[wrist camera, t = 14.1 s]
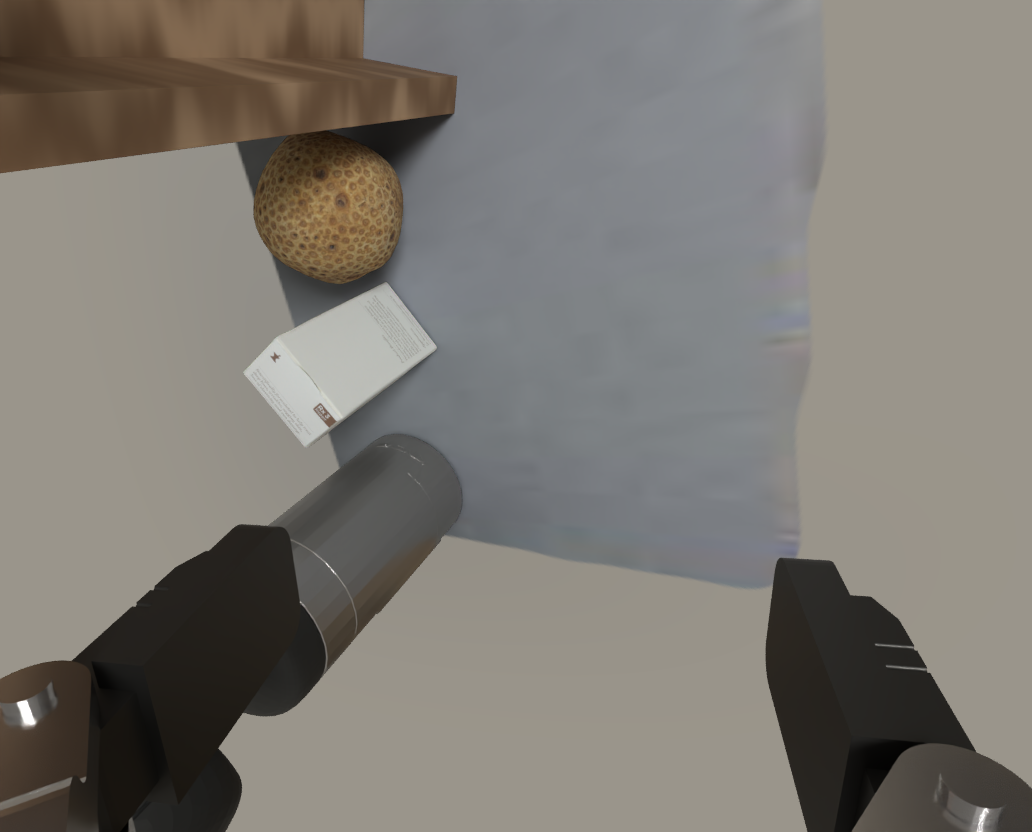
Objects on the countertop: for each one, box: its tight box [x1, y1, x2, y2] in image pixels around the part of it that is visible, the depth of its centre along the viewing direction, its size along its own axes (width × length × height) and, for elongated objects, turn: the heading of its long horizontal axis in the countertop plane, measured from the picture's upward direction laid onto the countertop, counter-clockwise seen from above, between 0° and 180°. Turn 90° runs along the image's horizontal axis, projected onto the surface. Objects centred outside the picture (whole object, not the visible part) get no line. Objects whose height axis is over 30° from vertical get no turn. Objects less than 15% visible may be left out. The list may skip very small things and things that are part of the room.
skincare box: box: [244, 282, 437, 448], centre depth 45 cm, size 6×4×12 cm
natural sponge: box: [254, 130, 403, 284], centre depth 42 cm, size 9×9×10 cm
